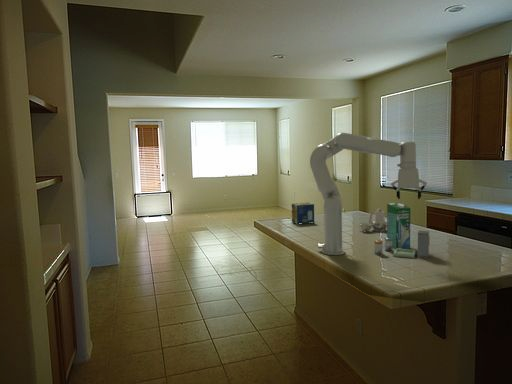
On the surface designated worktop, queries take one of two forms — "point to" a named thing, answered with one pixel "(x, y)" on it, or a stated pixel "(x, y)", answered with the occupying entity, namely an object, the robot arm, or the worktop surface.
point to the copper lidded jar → (378, 247)
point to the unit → (423, 244)
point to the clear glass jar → (388, 243)
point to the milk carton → (398, 224)
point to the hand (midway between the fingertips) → (408, 198)
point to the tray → (404, 253)
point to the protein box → (302, 213)
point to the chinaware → (375, 222)
